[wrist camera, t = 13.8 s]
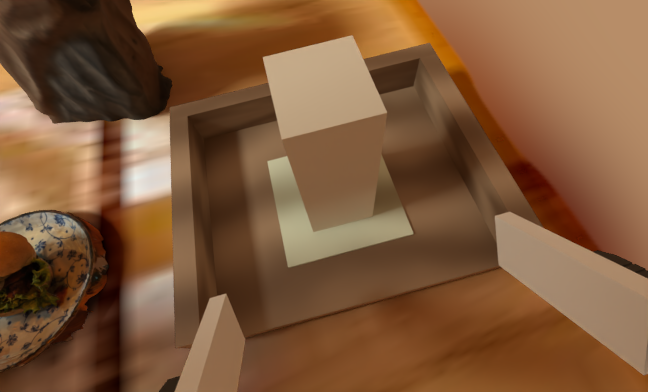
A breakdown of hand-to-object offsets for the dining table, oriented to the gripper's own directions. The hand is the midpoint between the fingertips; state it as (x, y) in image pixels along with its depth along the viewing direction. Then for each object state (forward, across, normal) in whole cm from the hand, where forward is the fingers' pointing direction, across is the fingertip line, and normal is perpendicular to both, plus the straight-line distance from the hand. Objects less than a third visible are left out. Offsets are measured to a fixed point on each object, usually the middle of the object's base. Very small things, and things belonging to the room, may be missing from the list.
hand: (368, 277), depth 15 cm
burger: (+11, -24, 0) cm, 26 cm away
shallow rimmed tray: (+11, 0, +1) cm, 11 cm away
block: (+10, 0, +1) cm, 10 cm away
